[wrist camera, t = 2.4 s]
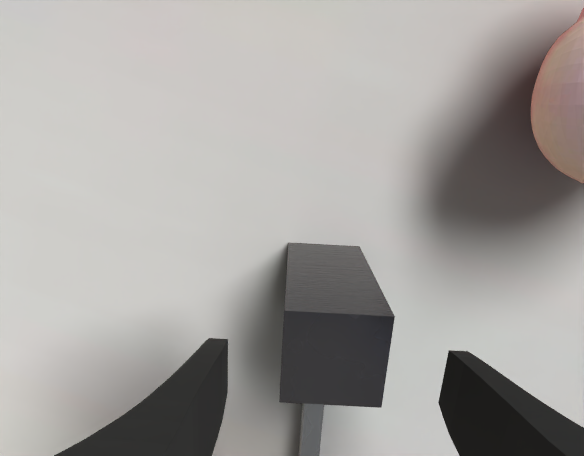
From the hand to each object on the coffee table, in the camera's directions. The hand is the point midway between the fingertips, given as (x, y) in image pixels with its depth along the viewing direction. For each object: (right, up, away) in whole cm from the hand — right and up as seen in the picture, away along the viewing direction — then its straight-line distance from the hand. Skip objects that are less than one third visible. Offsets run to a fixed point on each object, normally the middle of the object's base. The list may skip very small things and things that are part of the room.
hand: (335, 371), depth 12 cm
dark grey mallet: (0, -4, +9) cm, 10 cm away
